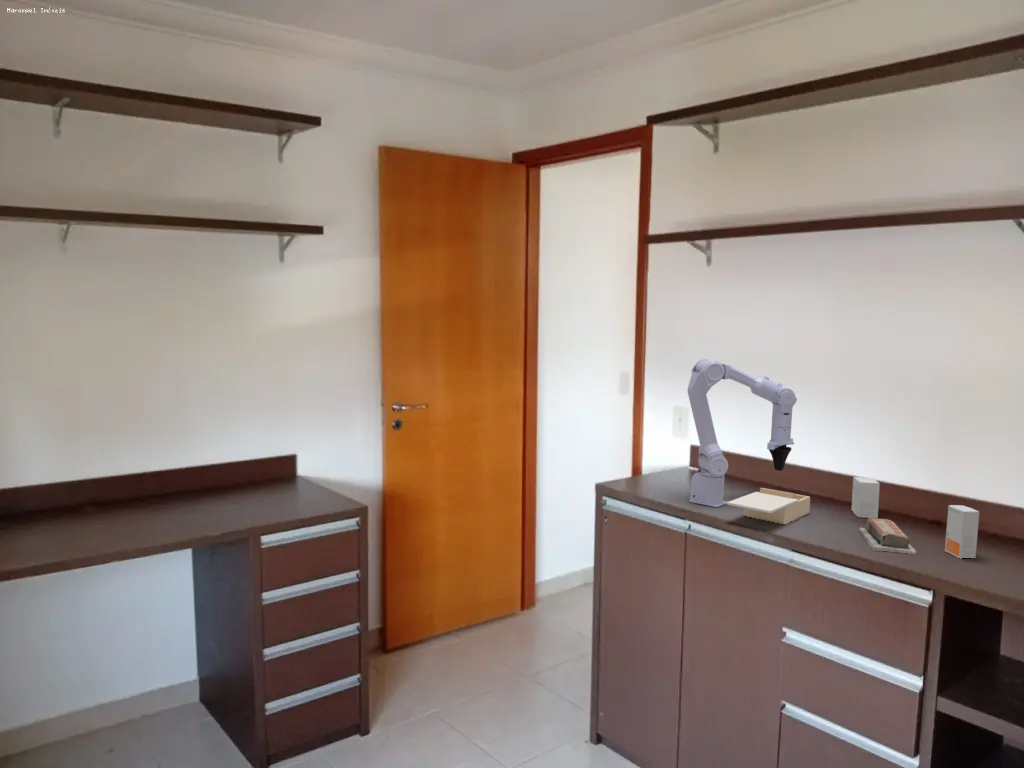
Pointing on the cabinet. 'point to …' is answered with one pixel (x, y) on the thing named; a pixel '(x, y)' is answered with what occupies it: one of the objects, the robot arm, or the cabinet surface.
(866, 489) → the small box
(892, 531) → the packaged product
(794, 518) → the box
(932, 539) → the cabinet surface
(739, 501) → the lid
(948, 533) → the skincare box
